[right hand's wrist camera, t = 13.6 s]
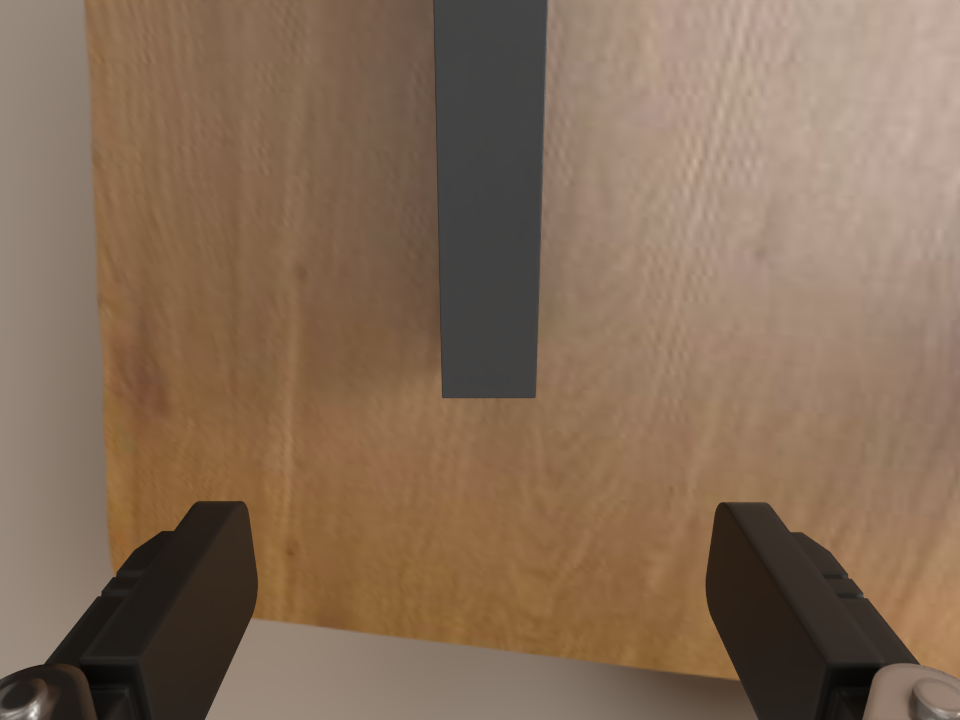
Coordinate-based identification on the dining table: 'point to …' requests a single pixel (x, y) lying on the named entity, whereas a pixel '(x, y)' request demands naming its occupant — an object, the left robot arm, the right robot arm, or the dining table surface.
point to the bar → (489, 192)
